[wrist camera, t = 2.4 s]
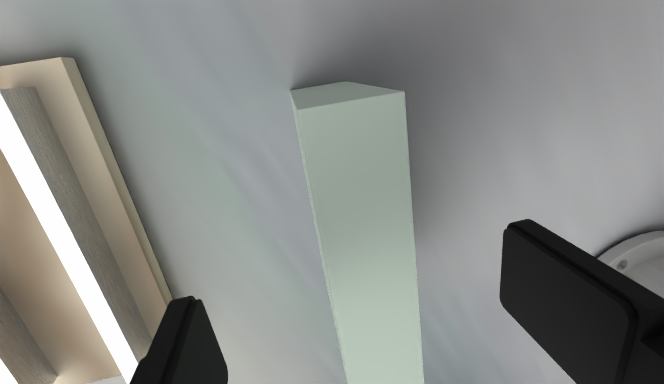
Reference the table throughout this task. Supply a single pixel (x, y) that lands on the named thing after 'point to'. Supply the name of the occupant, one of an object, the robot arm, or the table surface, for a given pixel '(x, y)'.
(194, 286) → the table surface
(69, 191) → the bottom track
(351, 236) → the door panel
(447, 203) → the table surface
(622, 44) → the table surface
